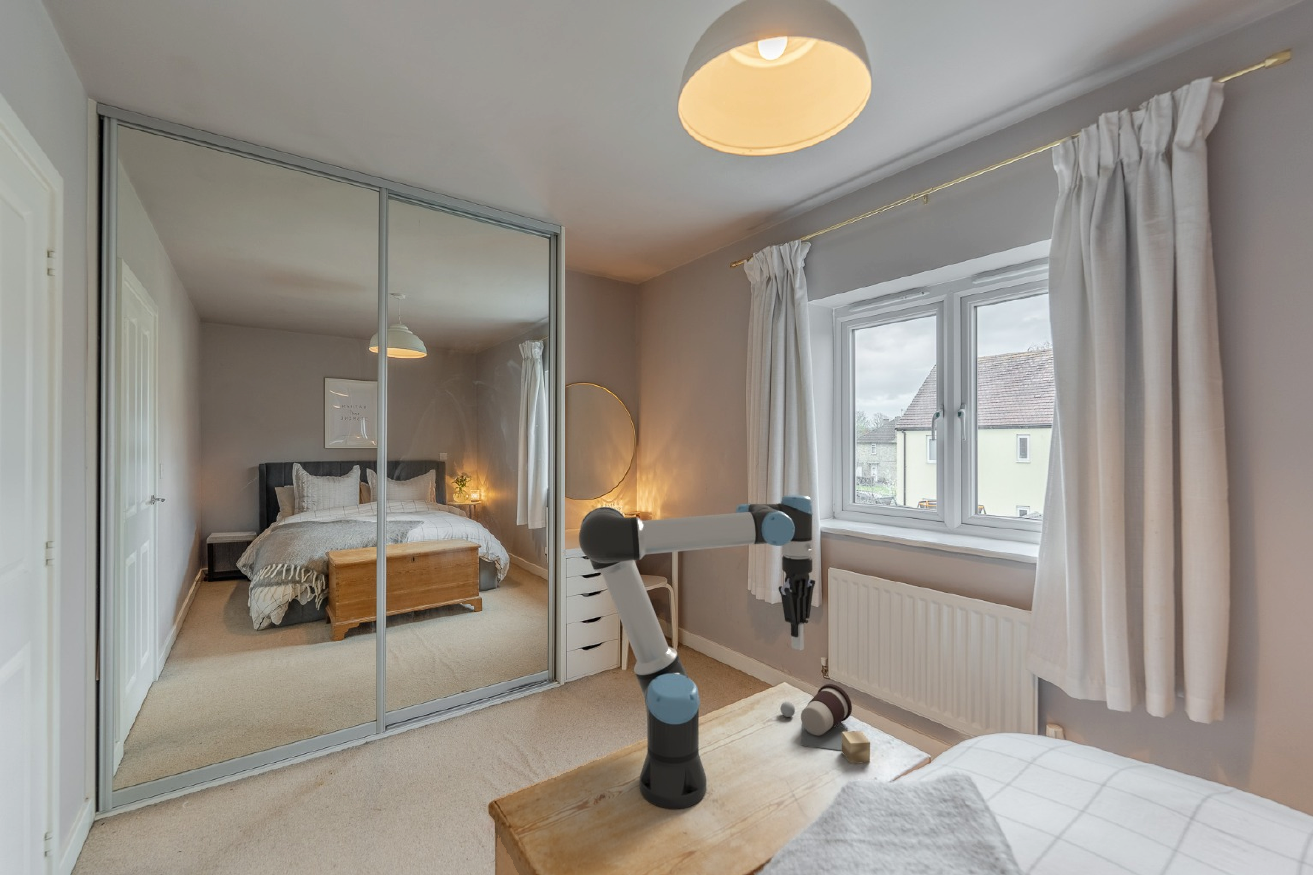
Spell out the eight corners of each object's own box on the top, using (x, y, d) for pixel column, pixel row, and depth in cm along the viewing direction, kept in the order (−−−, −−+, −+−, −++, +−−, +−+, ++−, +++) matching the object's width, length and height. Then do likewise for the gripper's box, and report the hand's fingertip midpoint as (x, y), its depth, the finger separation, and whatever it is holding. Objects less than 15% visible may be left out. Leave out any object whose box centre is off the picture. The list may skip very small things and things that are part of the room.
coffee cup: (800, 695, 152) (826, 674, 163) (791, 725, 154) (817, 703, 165) (834, 718, 146) (858, 694, 157) (824, 749, 148) (849, 724, 159)
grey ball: (780, 718, 160) (780, 704, 160) (780, 712, 164) (780, 698, 164) (794, 720, 159) (794, 706, 159) (795, 713, 163) (795, 699, 163)
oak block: (850, 763, 138) (850, 743, 138) (841, 750, 143) (841, 731, 143) (869, 762, 139) (870, 742, 139) (860, 749, 144) (861, 730, 144)
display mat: (801, 745, 146) (801, 744, 146) (802, 723, 158) (802, 722, 158) (850, 752, 143) (850, 751, 143) (847, 728, 155) (847, 727, 155)
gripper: (794, 562, 138) (795, 659, 138) (824, 554, 146) (824, 646, 146) (769, 557, 143) (770, 650, 143) (799, 550, 152) (800, 638, 152)
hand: (797, 648), depth 145 cm, fingers closed
